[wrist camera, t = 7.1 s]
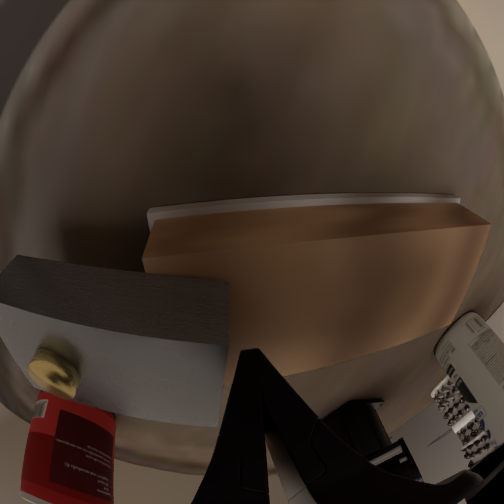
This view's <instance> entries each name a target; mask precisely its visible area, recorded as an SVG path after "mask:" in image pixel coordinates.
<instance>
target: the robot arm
mask: <svg viewBox="0 0 504 504" xmlns="http://www.w3.org/2000/svg"><path fill="white" fill-rule="evenodd" d="M383 404H384V400H383V399H382V400H366V401H351V402H348V403H347V404H345V405H344V406H343V407H342V408H340V409H339V410H338V411H337V412H335V413H334V414H333V415H331V416H330V417H329V418H327V419H326V420H325V421H322V420H321V419H320V418H318V416H317V415H316V414H315V413H314V412H313V411H312V409H311V408H310V407H309V406H308V405H307V404H306V403H305V402H304V401H303V399H302V398H301V397H300V396H299V395H298V394H297V393H296V391H295V390H294V389H293V388H292V387H291V386H290V384H289V383H288V382H287V381H286V380H285V379H284V377H283V376H282V375H281V374H280V373H279V372H278V370H277V369H276V368H275V367H274V366H273V364H272V363H271V362H270V361H269V360H268V358H267V357H266V356H265V355H264V354H263V352H262V351H261V350H260V349H259V348H252V349H244V350H241V351H240V355H239V359H238V363H237V367H236V370H235V374H234V378H233V382H232V386H231V390H230V394H229V398H228V402H227V405H226V409H225V413H224V417H223V421H222V424H221V428H220V432H219V436H218V439H217V443H216V446H215V449H214V453H213V456H212V459H211V461H210V464H209V466H208V469H207V471H206V474H205V476H204V478H203V480H202V482H201V484H200V486H199V489H198V491H197V493H196V495H195V497H194V499H193V501H192V503H191V504H270V502H269V501H270V500H269V487H268V472H267V458H266V444H265V440H266V443H267V446H268V449H269V452H270V454H271V457H272V460H273V463H274V466H275V468H276V471H277V474H278V477H279V479H280V482H281V485H282V487H283V490H284V492H285V495H286V498H287V500H288V503H289V504H504V442H503V443H502V444H500V445H499V446H497V447H496V448H495V449H493V450H492V451H491V452H489V453H488V454H487V455H486V456H484V457H483V458H482V459H481V460H479V461H478V462H477V463H476V464H475V465H473V466H472V467H471V468H470V469H469V470H463V471H460V472H459V473H457V474H455V475H453V476H451V477H449V478H447V479H445V480H443V481H441V482H439V483H437V484H435V485H434V484H429V483H424V481H423V478H422V476H421V474H420V472H419V469H418V467H417V465H416V463H415V461H414V459H413V457H412V455H411V453H410V451H409V450H408V448H407V445H406V444H405V442H404V440H403V438H401V439H399V440H398V441H397V442H395V443H393V444H392V443H391V441H390V439H389V437H388V435H387V433H386V431H385V428H384V426H383V424H382V422H381V420H380V418H379V416H378V414H377V412H376V409H378V408H379V407H380V406H382V405H383ZM400 449H402V453H400V454H398V455H395V456H394V457H392V458H390V459H388V460H386V461H384V462H382V463H380V464H378V465H376V466H375V465H373V464H374V463H376V462H378V461H379V460H382V459H384V458H386V457H387V456H389V455H391V454H393V453H395V452H397V451H399V450H400ZM404 460H406V461H404ZM402 461H404V462H402ZM400 462H402V463H400Z"/></svg>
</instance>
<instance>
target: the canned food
mask: <svg viewBox="0 0 504 504" xmlns="http://www.w3.org/2000/svg"><path fill="white" fill-rule="evenodd" d="M115 432H116V424H115V419H114V415H113V414H112V412H109V411H105V410H101V409H97V408H94V407H90V406H87V405H83V404H80V403H77V402H73V401H70V400H67V399H62V398H59V397H57V396H55V395H53V394H50V393H48V392H45V391H43V390H42V391H41V393H40V394H39V395H38V399H37V402H36V406H35V409H34V413H33V417H32V421H31V425H30V430H29V434H28V439H27V445H26V449H25V455H24V462H23V469H22V476H21V497H22V498H24V499H25V500H27V501H29V502H31V503H34V504H114V501H113V499H114V497H113V472H114V469H113V468H114V447H115Z"/></svg>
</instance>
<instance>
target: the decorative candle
mask: <svg viewBox="0 0 504 504" xmlns="http://www.w3.org/2000/svg"><path fill="white" fill-rule="evenodd" d="M431 397H435V399H434V403H435V404H439V407H438V409H439V411H445V415H444V419H447V418H448V419H449V422H448V426H451V425H452V429H453V431H454V432H455V433H456V434H457V435H458V437H459V439H460V441H461V442H462V444H463V447H461V449H463V450H461V451H466V454H465V455H464V458H466V459H469V458H471V461H470V462H469V465H468V467H470V468H471V467H472V466H473V465H475V464H476V463H477V462H478V461H479V460H481V459H482V458H483V457H484V456H486V455H487V454H488V453H489V452H491V451H492V450H493V449H494V447H493V446H492V444H491V442H490V440H489V439H488V437H487V435H486V433H485V432H484V430H483V428H482V427H481V425H480V423H479V422H478V420H477V418H476V417H475V415H474V413H473V412H472V410H471V409H470V407H469V405H468V404H467V402H466V401H465V399H464V398H463V396H462V395H461V393H460V392H459V390H458V389H457V387H456V386H455V384H454V383H453V381H452V380H451V379H450V377H449V376H448V375H447V376H446V377H445V378H444V379H443V380H442V381H440V382H439V384H438V385H437V386H436V387H435V388H434V389H433V391H432V392H431Z"/></svg>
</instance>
